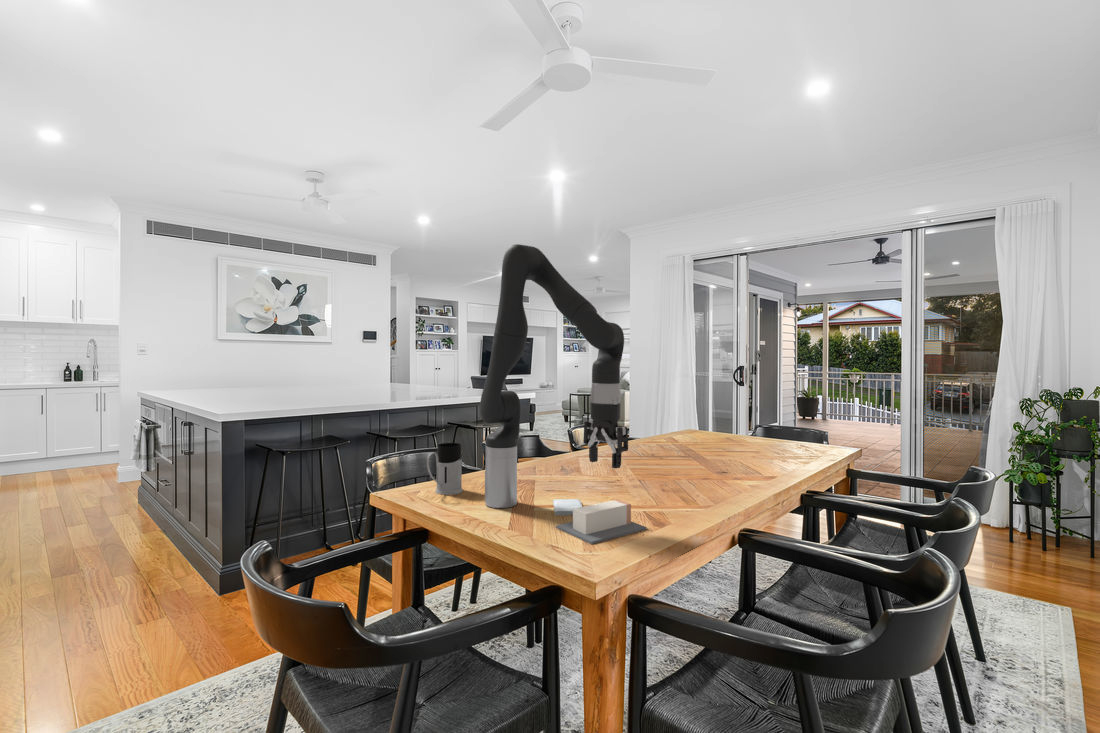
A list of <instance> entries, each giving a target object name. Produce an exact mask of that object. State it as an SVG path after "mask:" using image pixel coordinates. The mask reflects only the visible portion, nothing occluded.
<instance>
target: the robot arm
mask: <svg viewBox="0 0 1100 733" xmlns="http://www.w3.org/2000/svg"><path fill="white" fill-rule="evenodd" d="M501 265H502V266H501V279H500V294H499V301H498V307H497V315H496V316H497V317H496V322H495V327H494V333H493V336H492V345H491V352H490V353H491V354H490V359H489V364H488V368H487V369H488V370H487V373H486V374H487V375H486V377H485V382H484V384H483V389H482V391H481V392H482V393H481V397H480V403H479V415H480V418H481V420H482V421H483V422H484V423H486V424H499V426H498V427H497V429H496V430H494V431H493V432H491V433H489V434H487V436H486V437H485V470H484V502H485V505H486V507H489V508H493V509H504V508H505V509H506V508H507V509H508V508H512V507H514V506H516V505H517V504H518V439H519V437H520V429H521V428H520V425H521V401H520V398H519V396H518V394H517V392H516V391H513V390H503V387H504V384H505V381H506V379H507V377H508V375H509V374H510V372H511V371H512V370H513V369H514V367H515V366H516V364H517V363H518V362H519V361H520V359H521V357H522V356H523V354H524V352H525V348H526V343H527V340H528V338H527V336H528V330H529V325H528V324H529V323H528V319H527V314H526V310H525V307H524V292H525V286H526V283H527V281H532V282H534V283H535V284H537V285H538V286H540V287H541V288H542V289H544V291H546V292H547V294H548V295H549V297H550V298H551V300H552V302H553V304H554V306H555V307H556V309H557V310H558V311H559V312H560V314H562V315H563V316H564V318H566V319H567V320H568V321H569V322H570V323H571V324H573V326H575V327H576V328H577V330H578V331H579V332H580V334H581V335H582V336H583V338H584V339H585V341H586V342H588V344H589V345H591V346H592V347H593V348H595V349H597V350H598V351H597V359H596V360H595V361H594V362H593V363H592V368H591V388H590V419H591V420H586V421H584V424H583V441H582V442H583V444H584V445H587V446H588V449H589V450H588V458H589V462H591V463H596V462H598V459H599V447H598V446H599V443H600V442H604V443H607V445H608V446H609V447H610V449H611V452H612V453H611V468H612V469H620V468H621V466H622V453H623V452H624V453H625V452H628V451H629V430H628V429H629V428H628V427H627V426H619V421H620V419H621V396H622V395H621V394H622V392H621V371H620V370H621V363H622V362H621V361H622V358H623V353H624V347H625V335H624V331H623V328H622V327H621V326H620V325H619V324H617V323H615V322H610V321H607V320H605V319H604V318H603V317H602V316H601V315H599V313H598V311H597V310H598V309H597V308H596V307H595V306H594V305H593V304H592V303H591V302H590V301H589V300H588V299H587V298H586V297H585V296H583V295H582V294H581V293H580V292H578V291H577V289H575V288H574V287H573V286H572V285H571V284H570V283H569V282H568V281H567V280H566V279H565V278H564V277H563V275H561V273H560V272H559V271H558V270H557V269H556V268H555V267H554V266H553V264H552V263H551V261H550V260H549V259H548V257H547V256H546V255H545V253H543V251H541V250H540V249H539V248H538V247H535V246H531V245H525V244H518V243H516V244H512V245H511V246H509V247H508V248H507V249H506V251H505V252H504V255H503V260H502V264H501Z"/></svg>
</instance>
